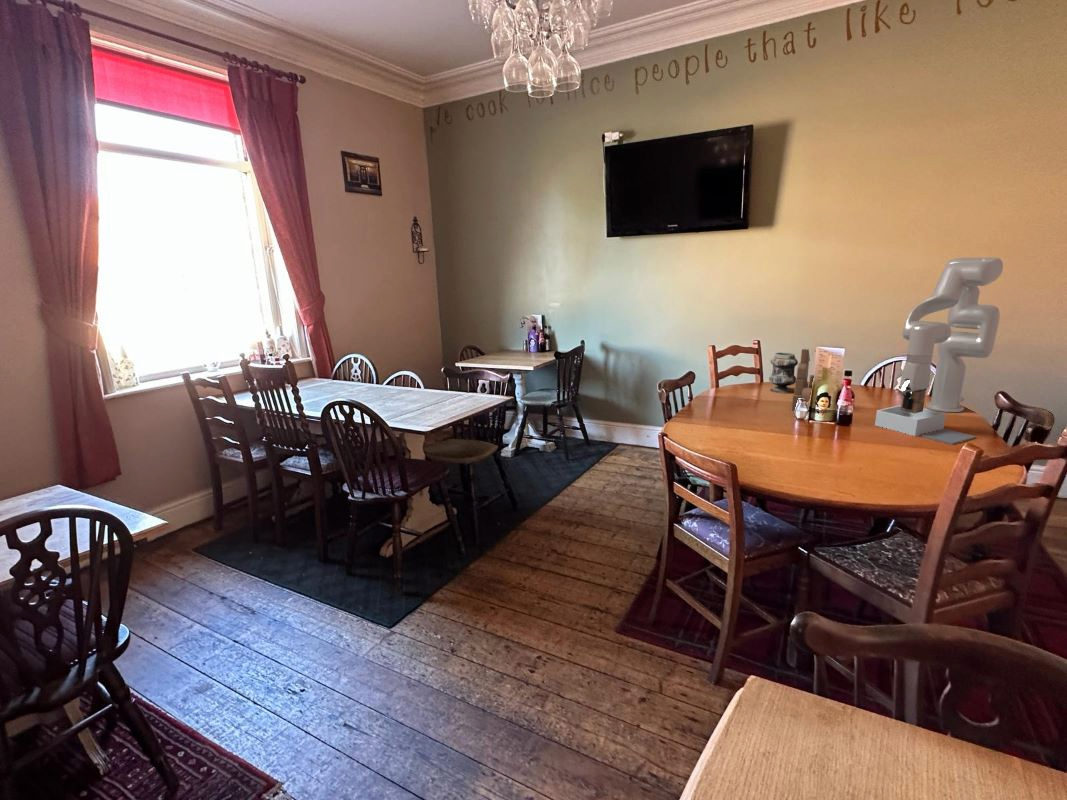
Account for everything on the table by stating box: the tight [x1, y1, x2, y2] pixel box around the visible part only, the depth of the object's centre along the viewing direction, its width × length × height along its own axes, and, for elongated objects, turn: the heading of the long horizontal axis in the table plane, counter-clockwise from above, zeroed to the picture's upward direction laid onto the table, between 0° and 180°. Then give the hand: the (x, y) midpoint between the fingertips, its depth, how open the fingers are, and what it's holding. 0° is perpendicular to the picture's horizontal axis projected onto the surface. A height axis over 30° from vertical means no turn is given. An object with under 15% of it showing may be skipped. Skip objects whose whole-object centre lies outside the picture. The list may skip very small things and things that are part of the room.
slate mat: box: [920, 428, 977, 445], centre depth 189 cm, size 14×10×1 cm
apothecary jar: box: [768, 351, 799, 394], centre depth 257 cm, size 12×12×18 cm
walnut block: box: [900, 388, 927, 414], centre depth 199 cm, size 5×5×8 cm
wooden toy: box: [791, 348, 815, 412], centre depth 228 cm, size 16×7×25 cm, turn 144°
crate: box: [874, 404, 947, 437], centre depth 201 cm, size 17×15×6 cm
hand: (912, 407), depth 200 cm, fingers closed on walnut block, 5 cm apart
